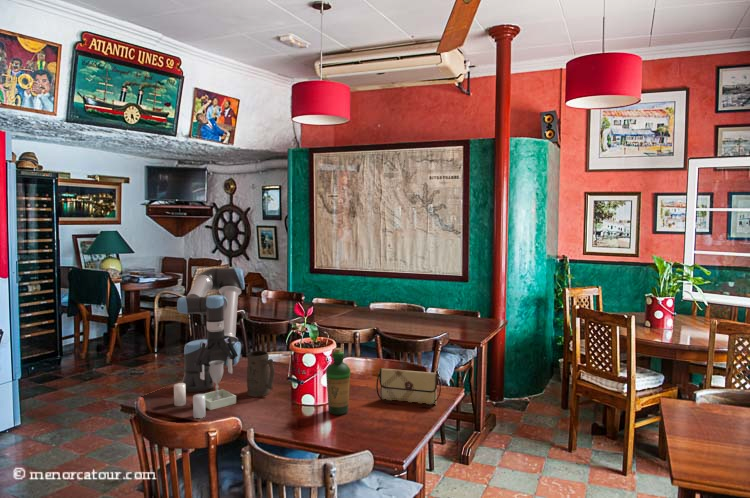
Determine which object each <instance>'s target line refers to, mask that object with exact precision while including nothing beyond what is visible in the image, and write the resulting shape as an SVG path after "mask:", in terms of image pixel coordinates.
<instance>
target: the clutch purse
mask: <svg viewBox="0 0 750 498" xmlns="http://www.w3.org/2000/svg"><path fill="white" fill-rule="evenodd" d="M438 382H439V390H438V389H437V388H438ZM378 385H380V393H379V387H378ZM375 388H376V394H377V396H378V398H379V399H380V400H381V401H383V402H385V403H387V404H390V403H392V400H398V401H397V402H402V401H408V402H407V403H412V402H418V403H417V404H422V403H426V404H425V406H424V407H426V408H429V407H431V406H433V404H435V405H434V406H436V405H437V401H438V399H439V397H440V396H441V389H442V383H441V379H440V377H439V374H438V372H431V371H430V372H428V371H415V370H404V369H403V370H402V369H394V368H381V367H380V369H379V371H377V378H376V387H375ZM437 390H438V391H439V392H438V396H437ZM384 399H386V400H384ZM426 405H427V406H426ZM426 408H425V409H426Z"/></svg>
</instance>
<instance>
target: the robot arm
mask: <svg viewBox="0 0 750 498" xmlns="http://www.w3.org/2000/svg"><path fill="white" fill-rule="evenodd" d="M245 285H246V284H245V277H244V271H243V269H242V268H240V267H237V268H236V267H227V268H226V267H224V268H223V267H218V268H217V267H213V268H209V269H206V270H204V271H202V272H200V273H199V274H198V275H197V276H196V277H195V279H194V281H193V285H192V287H191V289H190V290H189V292H188V294H187V295H186V296H183V297H182V296H181V297H179V298H178V299H177V302H176V308H177V309H176V310H177V312H178V313H179V314H185V315H187V314H206V330H207V331H206V339H205V338H203V339H195V340H192V341H189V342H187V343H185V345H184V350H183V356H184V357H183V359H184V360H183V361H184V363H183V364H184V374H183V378H182V381H181V383H185V384H186V393H199V392H204V391H208V390H211V389H212V388H213V387H214V382H213V380H212V378H211V375H210V365H209V362H211V361H216V360H222V361H224V364H223V367H227V372H228V373H229V374H233V366H236V365H238V364H239V361H240V358H241V351H242V344H241V342H240V341H239V338H238V337H236V333H237V319H238V304H239V303H238V302H239V296H240V295H241V294H242V290H245V287H246V286H245ZM210 291H218V292H219V294H216V295H215V294H212V295H208V296H206V295H207V293H208V292H210Z"/></svg>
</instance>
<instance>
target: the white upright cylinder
mask: <svg viewBox="0 0 750 498" xmlns="http://www.w3.org/2000/svg"><path fill="white" fill-rule="evenodd" d="M186 393H187V392H186V384H185V383H182V382H178V383H175V384H173V402H174V403H173V405H174V406H175V407H182V406H186V404H187V394H186Z"/></svg>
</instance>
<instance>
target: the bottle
mask: <svg viewBox="0 0 750 498" xmlns="http://www.w3.org/2000/svg"><path fill="white" fill-rule="evenodd" d="M331 358H332V363H331V364H329V365H328V366H327V367H326V369H325V375H326V388H327V389H326V390H327V406H328V413H329V414H332V415H336V416H342V415H345V414H347V413H348V412H349V402H350V400H349V399H350V383H351V368H350V367H349V365H348V364H347V363H345V362H344V358H345V353H344V351H343V348H342V347H335V348H334V350H333V351H332V353H331Z"/></svg>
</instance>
